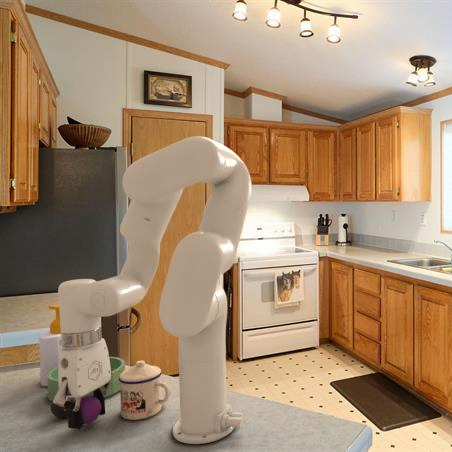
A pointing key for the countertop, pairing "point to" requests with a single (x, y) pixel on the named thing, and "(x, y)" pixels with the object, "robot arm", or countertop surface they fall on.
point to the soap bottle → (50, 347)
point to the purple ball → (90, 409)
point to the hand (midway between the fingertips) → (87, 420)
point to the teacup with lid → (141, 391)
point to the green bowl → (114, 386)
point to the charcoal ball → (59, 410)
